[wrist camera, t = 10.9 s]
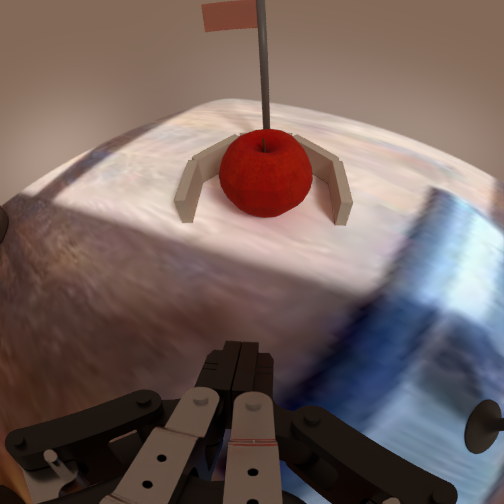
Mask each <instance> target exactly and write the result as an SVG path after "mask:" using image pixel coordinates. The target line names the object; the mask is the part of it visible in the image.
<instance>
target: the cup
mask: <svg viewBox="0 0 504 504" xmlns="http://www.w3.org/2000/svg"><path fill="white" fill-rule="evenodd" d="M265 12H266V11H265V0H238V1H227V2H218V3H209V4H203V5H202V13H203V20H204V28H205V32H211V31H220V30H230V29H245V28H258V39H259V56H260V74H261V94H262V115H263V129H270V107H269V79H268V78H269V77H268V52H267V31H266V13H265ZM243 134H246V133H240V136H241V135H243ZM288 134H290V135H292V133H288ZM238 137H239V136H237V135H236V134H234V135H232V136H230V137H228V138H226V139H224V140H223V141H221V142H219V143H217V144H215V145H213V146H211V147H209V148H207V149H205V150H204V151H202V152H200V153H198V154H196V155H194V156H193V157H192V160H188V163H187V165H186V168H185V171H184V174H183V176H182V179H181V182H180V185H179V188H178V191H177V193H176V196H175V199H174V202H175V205H176V207H177V210H178V212H179V215H180V217H181V220H182V222H183V223H193V220H194V216H195V212H196V208H197V204H198V200H199V196H200V193H201V189H202V185H203V182H205V181H206V180H208V179H210V178H211V177H213V176H215V175H216V174H218V173H219V171H220V164H221V161H222V157H223V155H224V154H225V152H226V150H227V148H228V147H229V145H230V144H231V143H232V142H233V141H234V140H236V139H237V138H238ZM293 137H294V138H295V139H296V140H297V141H298V142H299V143H300V145H301V146H302V147H303V148H304V150H305V152H306V154H307V156H308V158H309V161H310V163H311V166H312V173H313V174H314V175H316V176H317V177H319V178H320V179H322V180H324V181H325V182H327V183H328V184H329V190H330V196H331V201H332V207H333V214H334V220H335V225H344V226H346V223H347V220H348V217H349V214H350V211H351V208H352V205H353V201H352V197H351V192H350V188H349V184H348V181H347V177H346V173H345V169H344V166H343V162H342V161H339V157H337V156H335V155H334V154H332V153H330V152H329V151H327V150H325V149H323V148H321V147H320V146H318V145H316V144H314V143H312V142H311V141H309V140H307V139H305V138H303V137H301V136H299V135H297V134H296V135H295V136H293Z"/></svg>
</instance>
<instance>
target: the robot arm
mask: <svg viewBox="0 0 504 504" xmlns="http://www.w3.org/2000/svg"><path fill="white" fill-rule="evenodd" d="M7 226H8V218H7V216H6V215H5V211H4V210H3V208H2V207H1V206H0V243H1V241H2V239H3V237H4V235H5V232H6V229H7ZM258 348H259V343H258V342H243V343H242V342H241V341H226V342H225V345H224V348H223V351H222V350H213V351H212V352H211V353H210V354H209V355H207V358H206V360H205V364H204V365H203V367H202V370H201V372H200V375H199V377H198V380H197V382H196V384H195V387H194V388H192V389H190V390H188V391H186V392H185V393H184V395H183V396H182V398H181V399H175V400H161V397H160V395H159V394H158V393H156V392H154V391H151V390H138V391H135V392H133V393H130V394H127V395H125V396H122V397H120V398H117V399H114V400H112V401H109V402H106V403H103V404H100V405H98V406H95V407H92V408H89V409H86V410H83V411H80V412H77V413H74V414H71V415H67V416H64V417H61V418H58V419H54V420H51V421H47V422H44V423H40V424H36V425H32V426H29V427H25V428H21V429H16V430H14V431H12V432H10V433H9V434H8V435H7V437H6V439H5V447H6V449H7V451H8V452H9V453H10V455H11V456H12V457H13V458H14V459H15V461H16V462H17V463H18V465H19V466H20V467H21V468H22V470H23V474H24V477H25V480H26V483H27V486H28V489H29V492H30V495H31V498H32V500H33V503H34V504H306V503H305V502H304V501H303V500H301V499H300V498H298V497H296V496H295V495H293V494H290V493H288V492H286V491H283V490H281V477H280V464H279V460H282V461H285V463H286V465H287V466H288V467H289V468H290V469H291V470H292V471H293V472H294V473H295V474H297V475H298V476H299V477H300V478H301V479H302V480H303V481H305V482H306V483H307V484H308V485H309V486H310V487H312V488H313V489H314V490H315V491H316V492H318V493H319V494H320V495H321V496H323V497H324V498H325V499H326V500H328V501H329V502H330V503H332V504H456V502H457V498H458V494H457V490H456V488H455V487H454V485H452V484H451V483H449V482H447V481H445V480H443V479H441V478H439V477H437V476H435V475H433V474H431V473H429V472H427V471H425V470H423V469H421V468H420V467H418V466H416V465H414V464H412V463H410V462H408V461H407V460H405V459H403V458H401V457H400V456H398V455H396V454H394V453H393V452H391V451H389V450H388V449H386V448H384V447H382V446H381V445H379V444H378V443H376V442H374V441H373V440H371V439H369V438H368V437H366V436H365V435H363V434H362V433H360V432H358V431H357V430H355V429H354V428H352V427H351V426H349V425H348V424H346V423H345V422H343V421H342V420H340V419H339V418H337V417H336V416H334V415H333V414H331V413H330V412H329V411H327V410H326V409H324V408H322V407H319V406H304V407H301V408H299V409H298V410H296V411H295V412H293V411H289V410H286V409H283V408H281V407H279V406H278V405H277V404H276V403H275V402H274V400H273V396H272V395H273V364H274V360H273V358H272V357H271V355H270V354H269V353H258ZM225 429H232V431H231V440H230V441H229V445H228V454H227V465H226V476H225V481H211V478H212V474H213V471H214V468H215V465H216V462H217V459H218V456H219V454H220V451H221V448H222V445H223V437H224V433H225ZM133 430H137V432H136V433H133V434H131V435H129V436H126V437H124V438H121V439H119V440H116V441H114V442H111V443H109V441H110V440H112V439H114V438H116V437H119V436H121V435H124V434H126V433H129V432H131V431H133ZM102 481H103V482H102ZM97 483H98V484H97ZM94 484H95V485H94ZM91 485H93V486H91ZM89 486H90V487H89Z"/></svg>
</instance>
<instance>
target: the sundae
mask: <svg viewBox="0 0 504 504" xmlns="http://www.w3.org/2000/svg"><path fill="white" fill-rule="evenodd" d="M499 431H504V418H502V417H501V409H500V407H499V405H498V404H497V403H496V402H495V401H493V400H486V401H483V402H482V403H480V404H479V405H478V406H477V407H476V408H475V410H474V411H473V413H472V414H471V416H470V418H469V421H468V424H467V427H466V434H465V440H466V446H467V448H468V449H469V451H470V452H472V453H474V454H479V453H482V452H484V451H486V450H487V449H488V448H489V447H490V446H491V445H492V444H493V443H494V441H495V440H496V438H497V436H498V433H499Z"/></svg>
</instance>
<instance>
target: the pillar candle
mask: <svg viewBox="0 0 504 504" xmlns="http://www.w3.org/2000/svg"><path fill="white" fill-rule="evenodd" d="M0 504H25V503H24V502H23V501H22V500H21V499H20V498H19V497H18V496H17V495H16V494H15V493H14V492H13V491H12V490H10V489H9V488H7V487H5V486H3V485H0Z"/></svg>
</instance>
